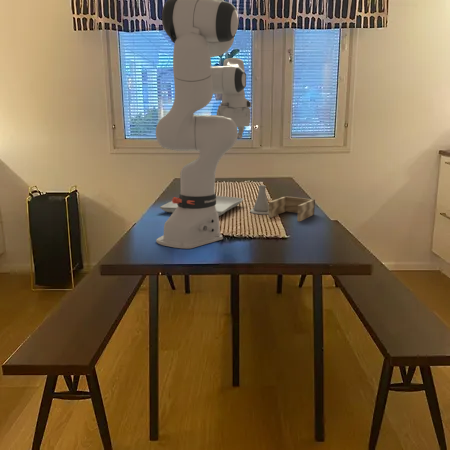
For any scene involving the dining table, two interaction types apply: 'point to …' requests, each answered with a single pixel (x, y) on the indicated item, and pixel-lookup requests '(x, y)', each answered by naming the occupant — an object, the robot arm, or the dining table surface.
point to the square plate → (221, 205)
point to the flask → (261, 200)
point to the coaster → (259, 212)
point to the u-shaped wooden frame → (292, 207)
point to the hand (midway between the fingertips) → (233, 139)
